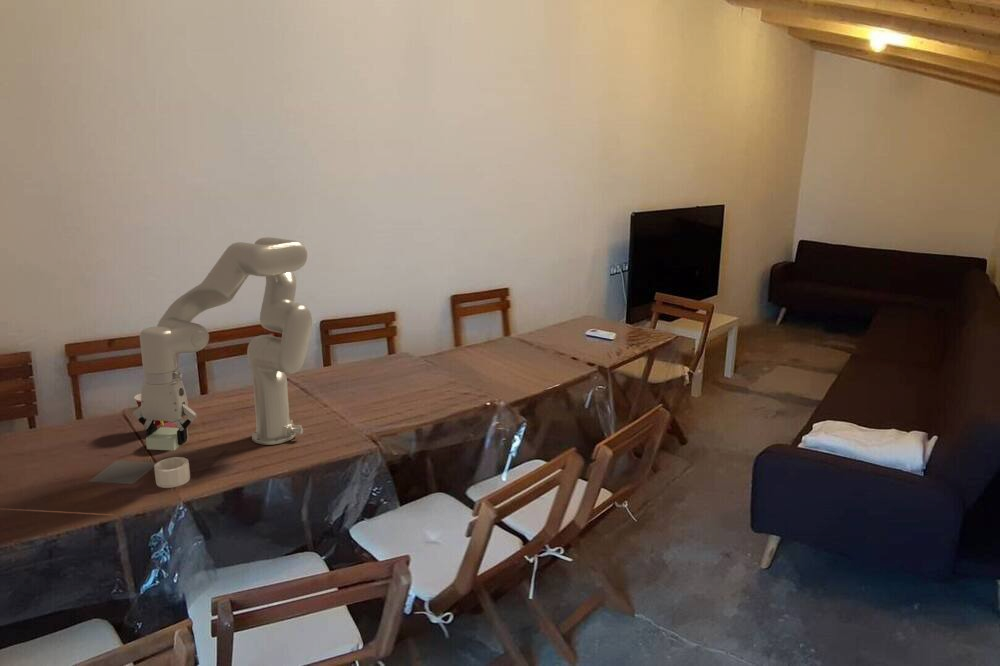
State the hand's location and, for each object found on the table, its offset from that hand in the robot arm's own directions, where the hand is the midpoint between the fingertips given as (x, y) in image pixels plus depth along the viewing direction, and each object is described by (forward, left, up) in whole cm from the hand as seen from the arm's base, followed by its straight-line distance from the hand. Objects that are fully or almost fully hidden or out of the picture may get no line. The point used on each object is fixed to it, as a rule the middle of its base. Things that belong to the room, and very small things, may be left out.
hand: (167, 441), depth 170 cm
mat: (+15, -3, -11) cm, 19 cm away
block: (0, 0, -1) cm, 1 cm away
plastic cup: (+21, -30, -12) cm, 39 cm away
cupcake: (+12, -20, -12) cm, 26 cm away
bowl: (0, 0, -11) cm, 11 cm away
